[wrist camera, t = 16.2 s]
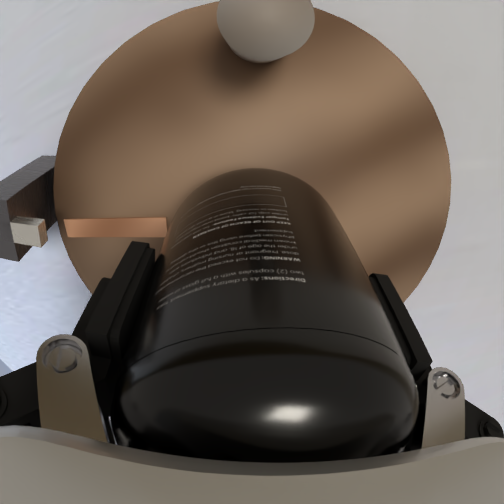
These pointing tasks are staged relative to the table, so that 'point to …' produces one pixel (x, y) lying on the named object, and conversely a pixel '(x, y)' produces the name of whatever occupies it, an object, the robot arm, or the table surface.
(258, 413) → the supplement bottle
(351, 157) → the disc
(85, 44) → the table surface
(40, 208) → the index pointer
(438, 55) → the table surface
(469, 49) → the table surface
